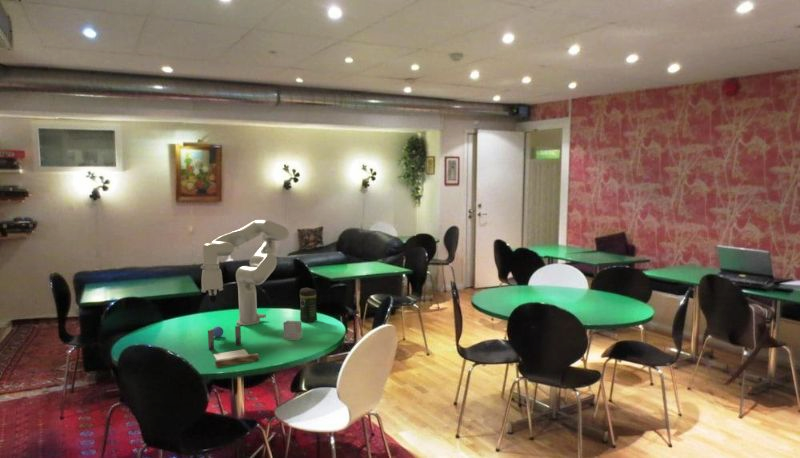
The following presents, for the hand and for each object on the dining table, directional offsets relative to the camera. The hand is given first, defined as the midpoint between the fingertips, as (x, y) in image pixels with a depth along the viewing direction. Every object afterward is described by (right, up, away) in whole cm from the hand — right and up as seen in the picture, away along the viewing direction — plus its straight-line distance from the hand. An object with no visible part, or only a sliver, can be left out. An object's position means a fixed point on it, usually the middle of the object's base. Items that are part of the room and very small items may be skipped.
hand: (212, 302), depth 283 cm
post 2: (+19, -18, -19) cm, 32 cm away
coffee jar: (+46, -14, +23) cm, 53 cm away
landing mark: (+21, -20, -36) cm, 46 cm away
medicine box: (+44, -17, -10) cm, 48 cm away
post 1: (+8, -19, -25) cm, 32 cm away
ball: (+5, -14, -7) cm, 16 cm away
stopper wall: (+26, -20, -45) cm, 56 cm away
